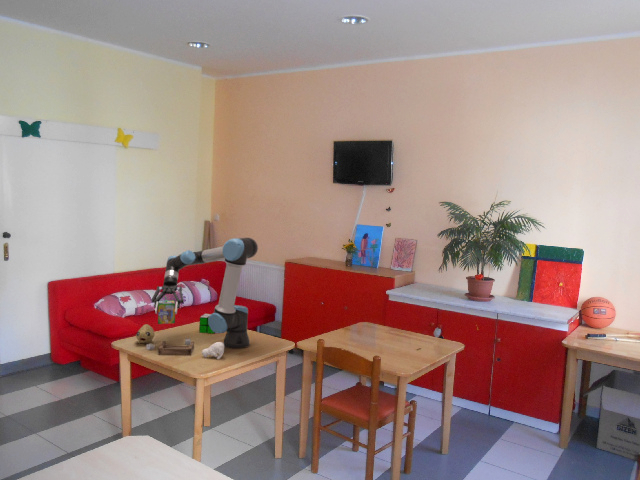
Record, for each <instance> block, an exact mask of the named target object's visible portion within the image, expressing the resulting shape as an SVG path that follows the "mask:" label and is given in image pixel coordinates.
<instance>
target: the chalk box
mask: <svg viewBox="0 0 640 480" xmlns="http://www.w3.org/2000/svg"><path fill="white" fill-rule="evenodd" d="M164 299H165V300H160V301H159V302H158V311H157V324H158V325H164V324H165V325H166V324H170V325H171V324H176V314H175V307H176V300H168V299H167V296H166V295H164Z"/></svg>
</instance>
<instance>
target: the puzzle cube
mask: <svg viewBox="0 0 640 480" xmlns="http://www.w3.org/2000/svg"><path fill="white" fill-rule="evenodd" d="M211 314H212V313H210V314H209V313H204V314H203V315H201V316H200V317H199V327H198V328H199V331H198V333H201V334H213V335H216V333H215V332H213V331H212V330H211V328H210V326H209V323H208V319H209V316H210V315H211Z"/></svg>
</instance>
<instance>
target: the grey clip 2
mask: <svg viewBox="0 0 640 480" xmlns="http://www.w3.org/2000/svg"><path fill="white" fill-rule="evenodd" d="M191 342H192V339H191V338H185V340H184V346H190V344H191Z"/></svg>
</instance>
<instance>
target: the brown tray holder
mask: <svg viewBox="0 0 640 480" xmlns="http://www.w3.org/2000/svg"><path fill="white" fill-rule="evenodd" d="M194 348H195V341H191V344H190V345H167V341H166V340H163V341H162V343H161V344H160V346H159V347H158V350H157V353H158V354H157V355H158V356H192V353H193V351H194Z"/></svg>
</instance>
